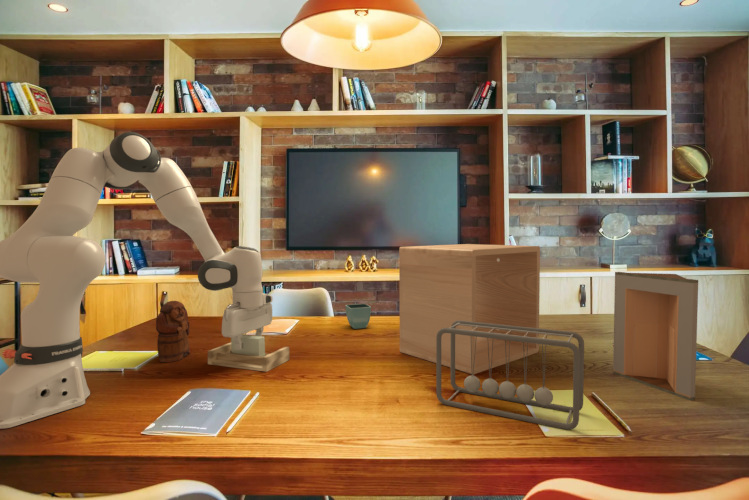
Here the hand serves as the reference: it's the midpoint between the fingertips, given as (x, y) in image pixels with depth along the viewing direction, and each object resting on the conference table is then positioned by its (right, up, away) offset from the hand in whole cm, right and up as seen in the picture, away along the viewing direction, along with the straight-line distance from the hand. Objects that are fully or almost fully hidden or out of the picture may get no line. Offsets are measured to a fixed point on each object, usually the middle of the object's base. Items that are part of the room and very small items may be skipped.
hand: (248, 345), depth 134 cm
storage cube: (+69, -5, +9) cm, 70 cm away
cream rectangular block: (0, -4, 0) cm, 4 cm away
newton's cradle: (+68, -7, -35) cm, 77 cm away
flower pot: (+31, -3, +46) cm, 56 cm away
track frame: (0, -5, 0) cm, 5 cm away
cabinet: (+112, -6, -20) cm, 114 cm away
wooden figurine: (-25, -5, +5) cm, 26 cm away
